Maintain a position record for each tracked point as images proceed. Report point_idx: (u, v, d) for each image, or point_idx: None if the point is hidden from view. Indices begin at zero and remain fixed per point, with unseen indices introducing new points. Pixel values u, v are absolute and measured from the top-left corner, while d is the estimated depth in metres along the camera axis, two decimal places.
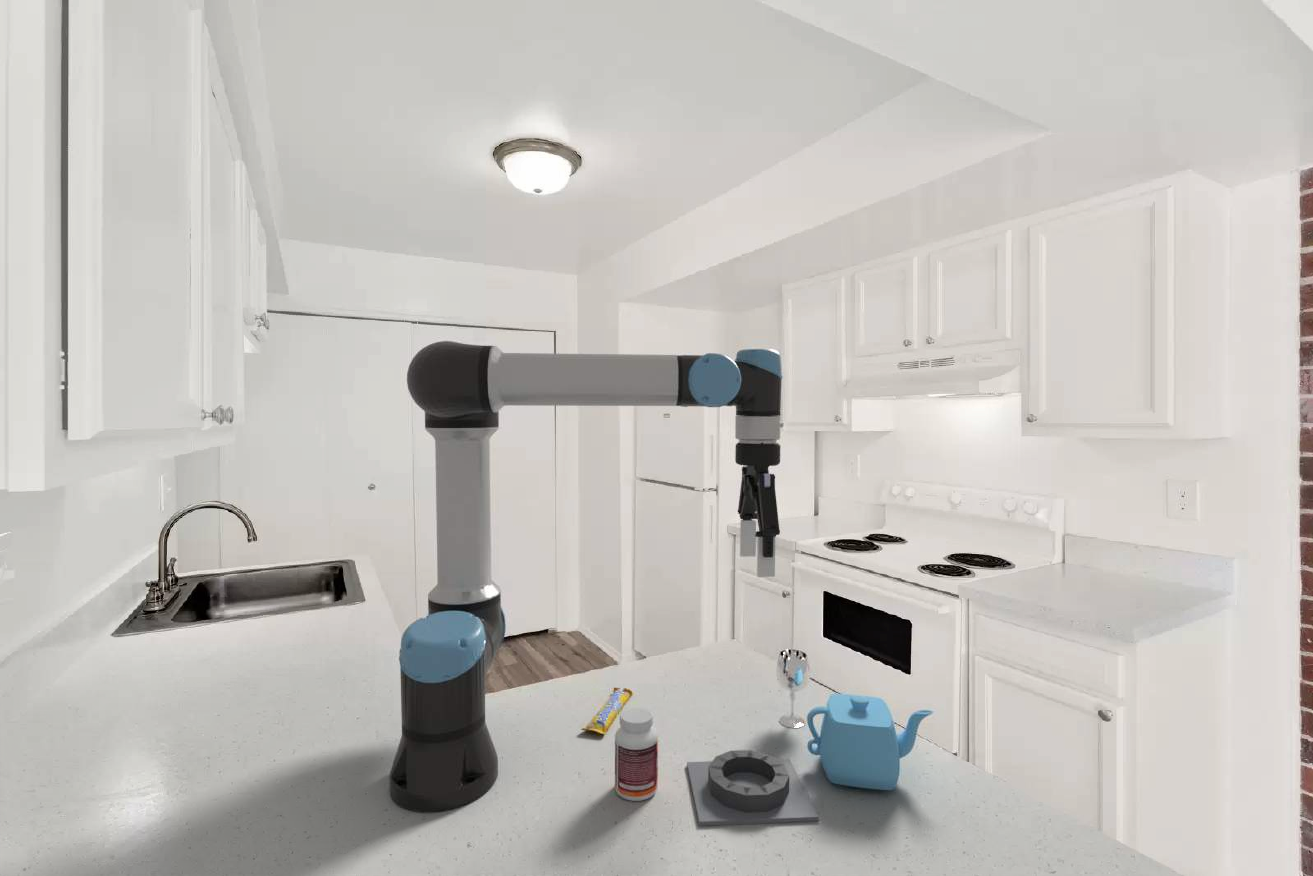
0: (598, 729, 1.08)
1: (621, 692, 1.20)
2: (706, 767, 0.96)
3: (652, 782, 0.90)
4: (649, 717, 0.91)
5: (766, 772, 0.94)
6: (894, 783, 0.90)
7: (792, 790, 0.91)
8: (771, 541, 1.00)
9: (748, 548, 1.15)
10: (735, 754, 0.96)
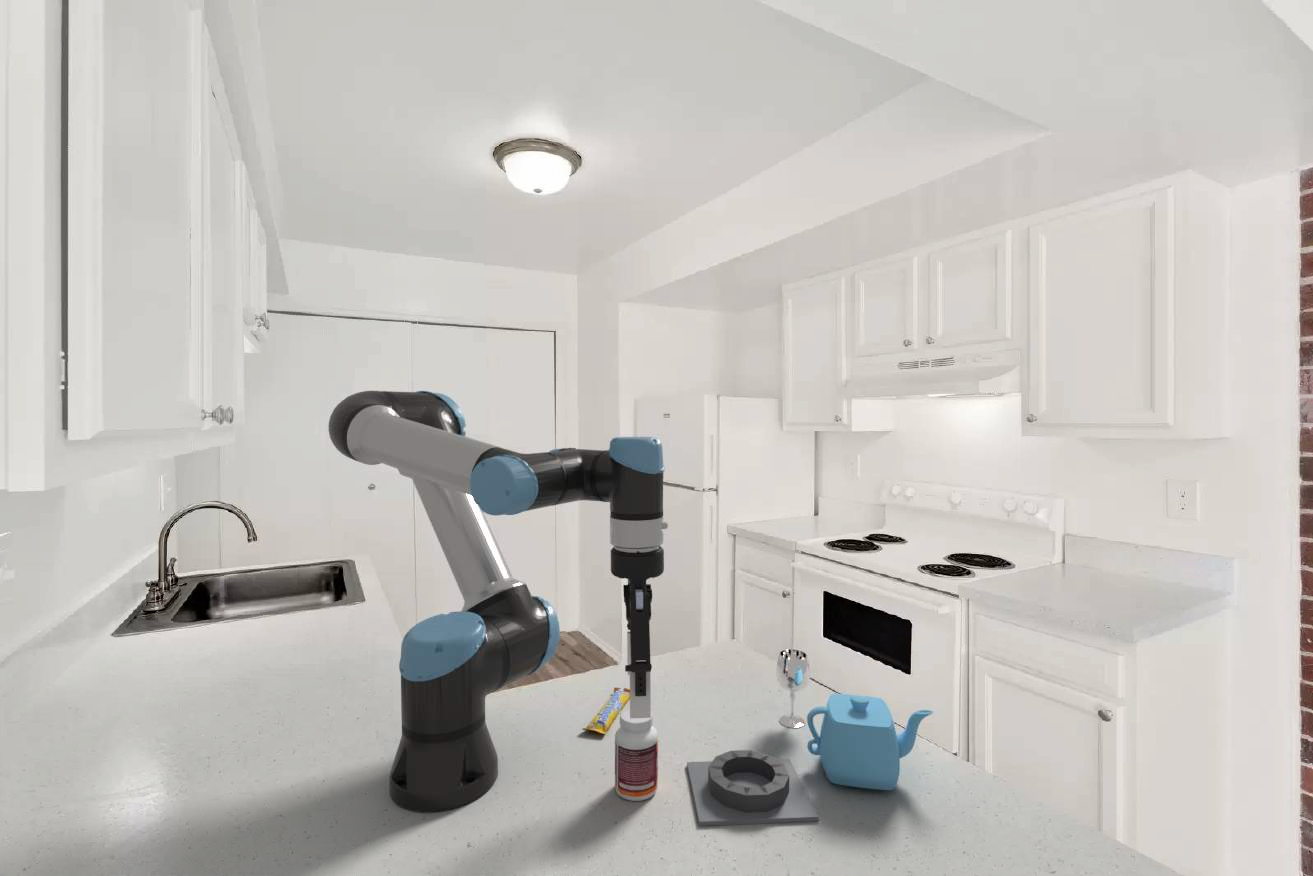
0: (599, 729, 1.08)
1: (621, 692, 1.20)
2: (706, 767, 0.96)
3: (652, 782, 0.90)
4: None
5: (766, 772, 0.94)
6: (894, 783, 0.90)
7: (792, 790, 0.91)
8: (643, 677, 0.82)
9: None
10: (735, 754, 0.96)
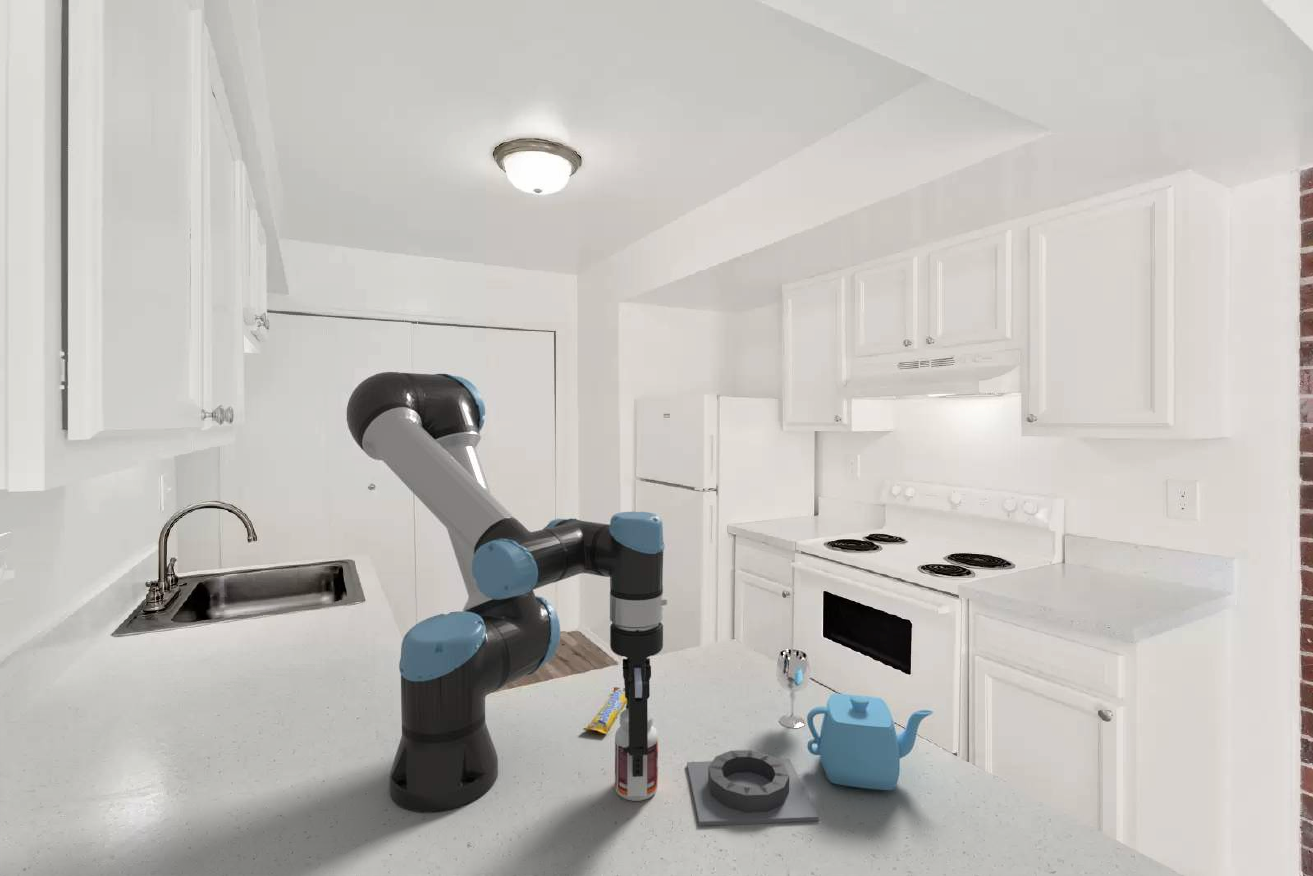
0: (599, 729, 1.08)
1: (621, 692, 1.20)
2: (706, 767, 0.96)
3: (653, 782, 0.90)
4: (649, 717, 0.91)
5: (766, 772, 0.94)
6: (894, 783, 0.90)
7: (792, 790, 0.91)
8: (640, 759, 0.87)
9: None
10: (735, 754, 0.96)
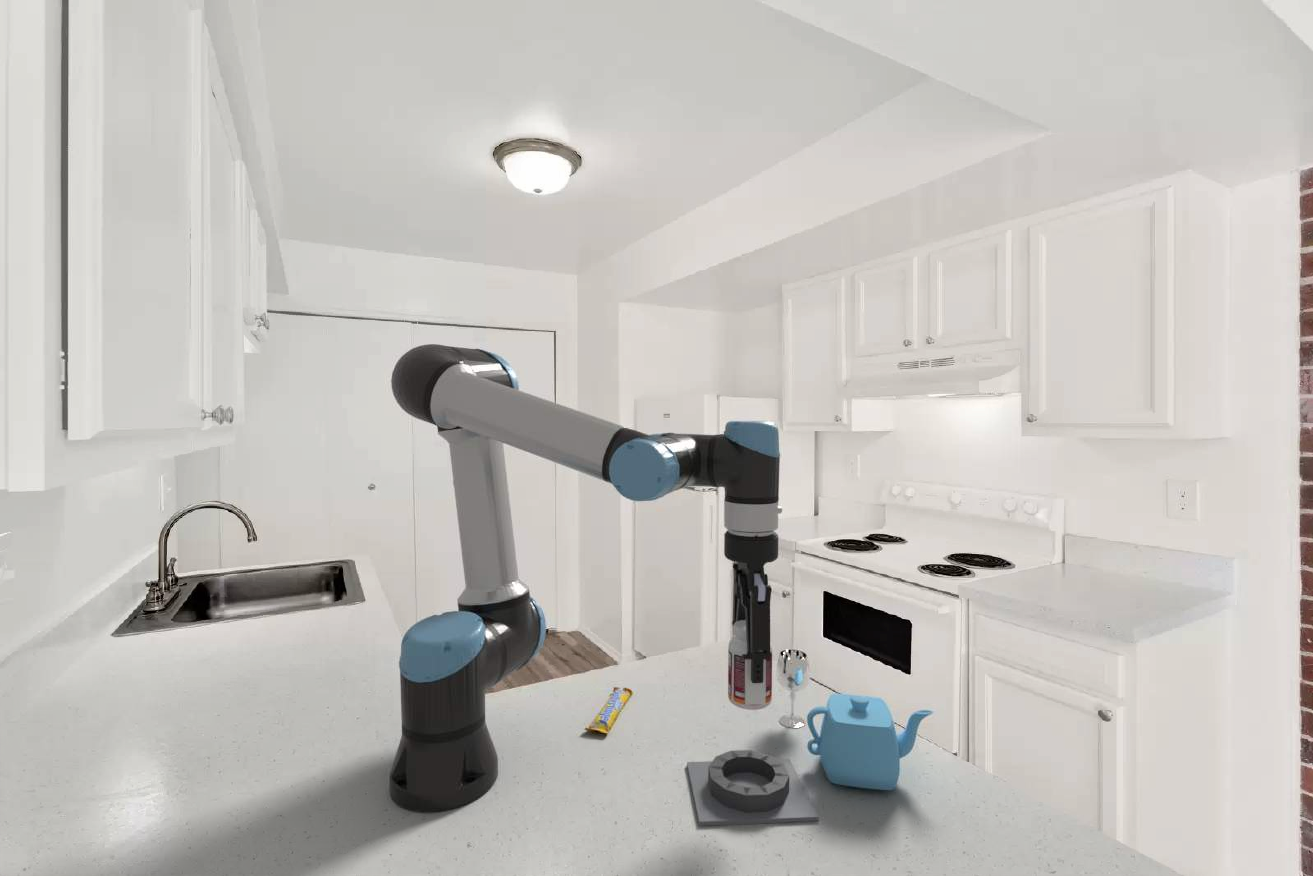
0: (601, 728, 1.08)
1: (621, 691, 1.20)
2: (706, 767, 0.96)
3: (769, 692, 0.89)
4: None
5: (766, 772, 0.94)
6: (894, 783, 0.90)
7: (792, 790, 0.91)
8: (761, 665, 0.85)
9: None
10: (735, 754, 0.96)
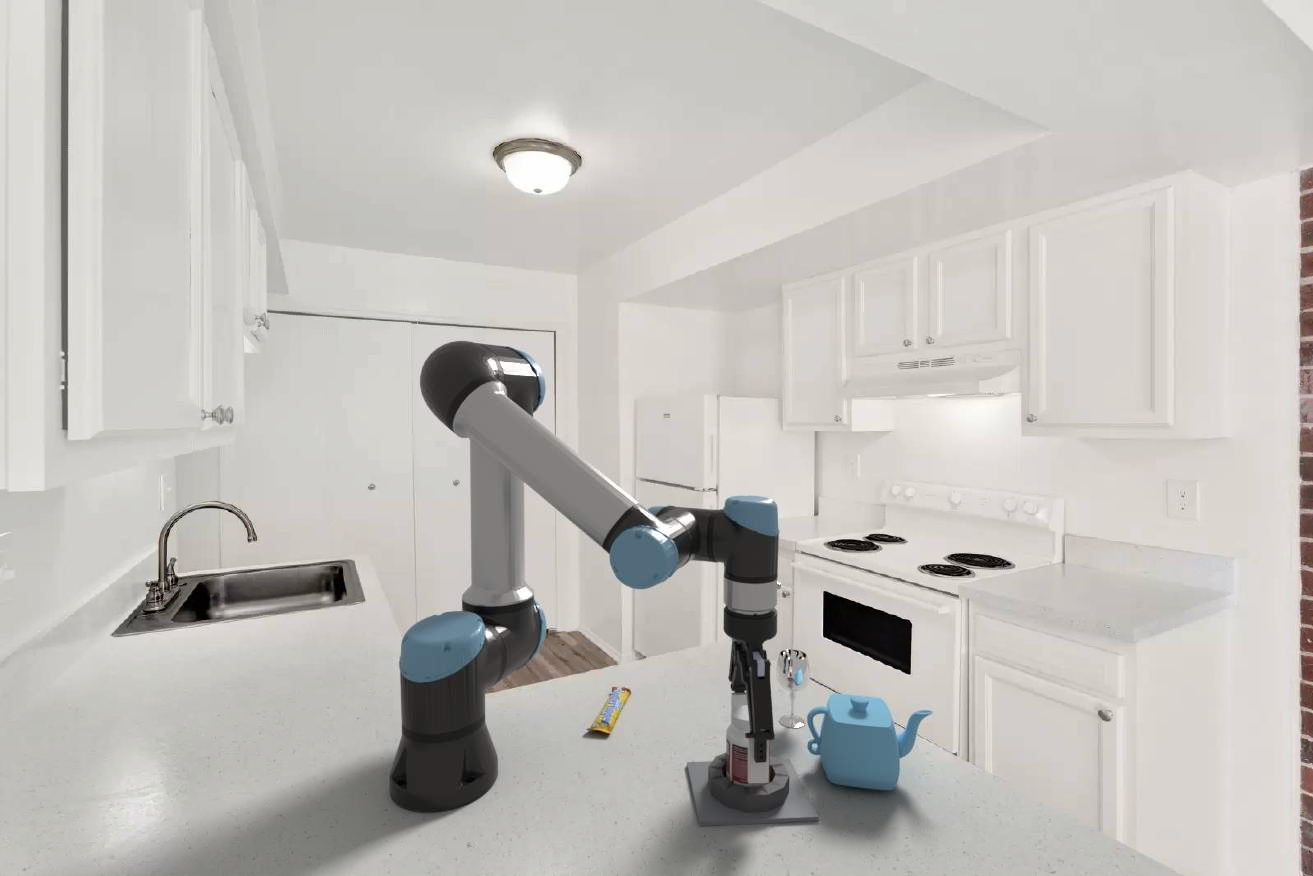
0: (603, 729, 1.08)
1: (620, 691, 1.20)
2: (706, 767, 0.96)
3: None
4: None
5: None
6: (894, 783, 0.90)
7: (792, 790, 0.91)
8: (764, 744, 0.83)
9: None
10: None
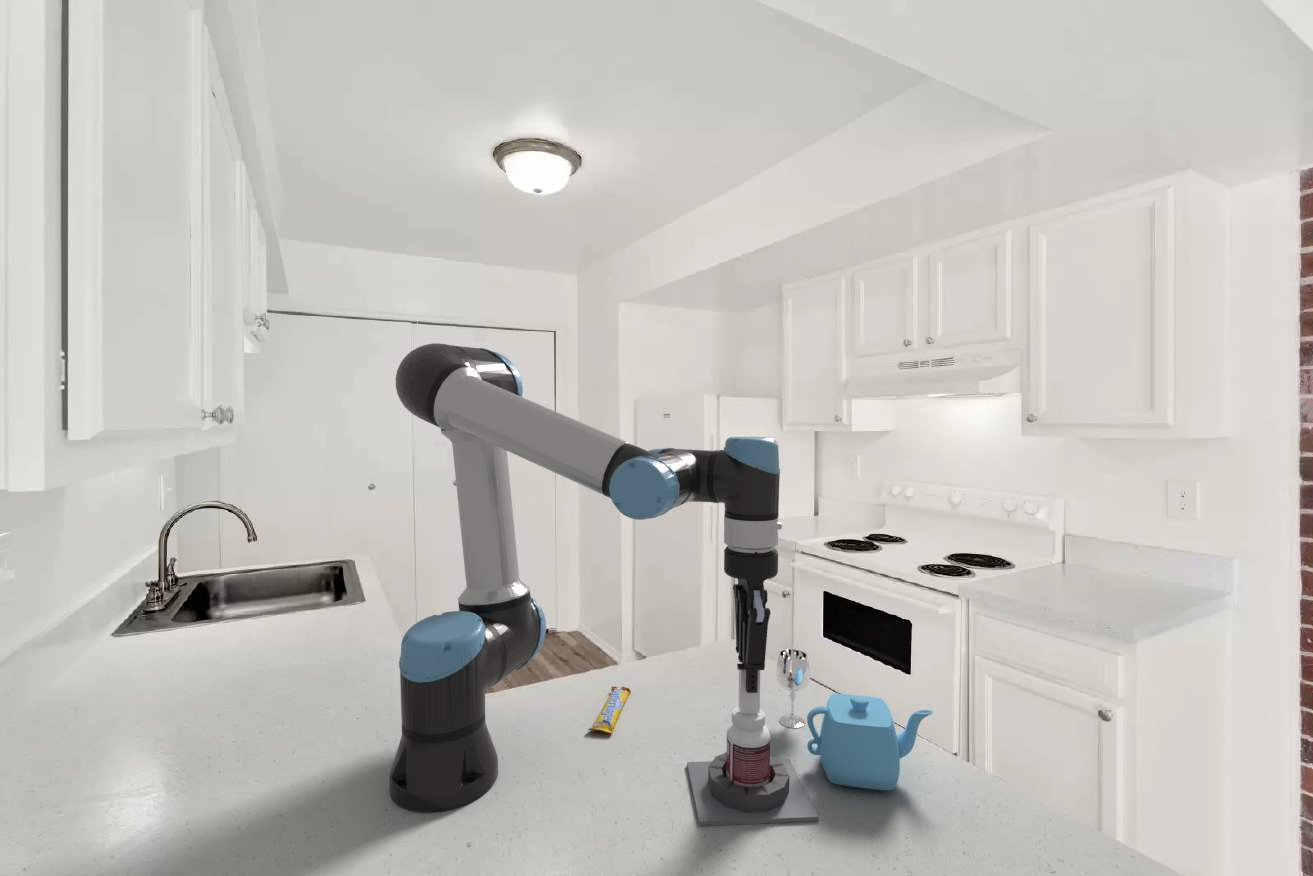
0: (605, 728, 1.08)
1: (620, 691, 1.21)
2: (706, 767, 0.96)
3: (767, 780, 0.89)
4: (763, 715, 0.90)
5: None
6: (894, 783, 0.90)
7: (792, 790, 0.91)
8: (755, 675, 0.89)
9: None
10: None
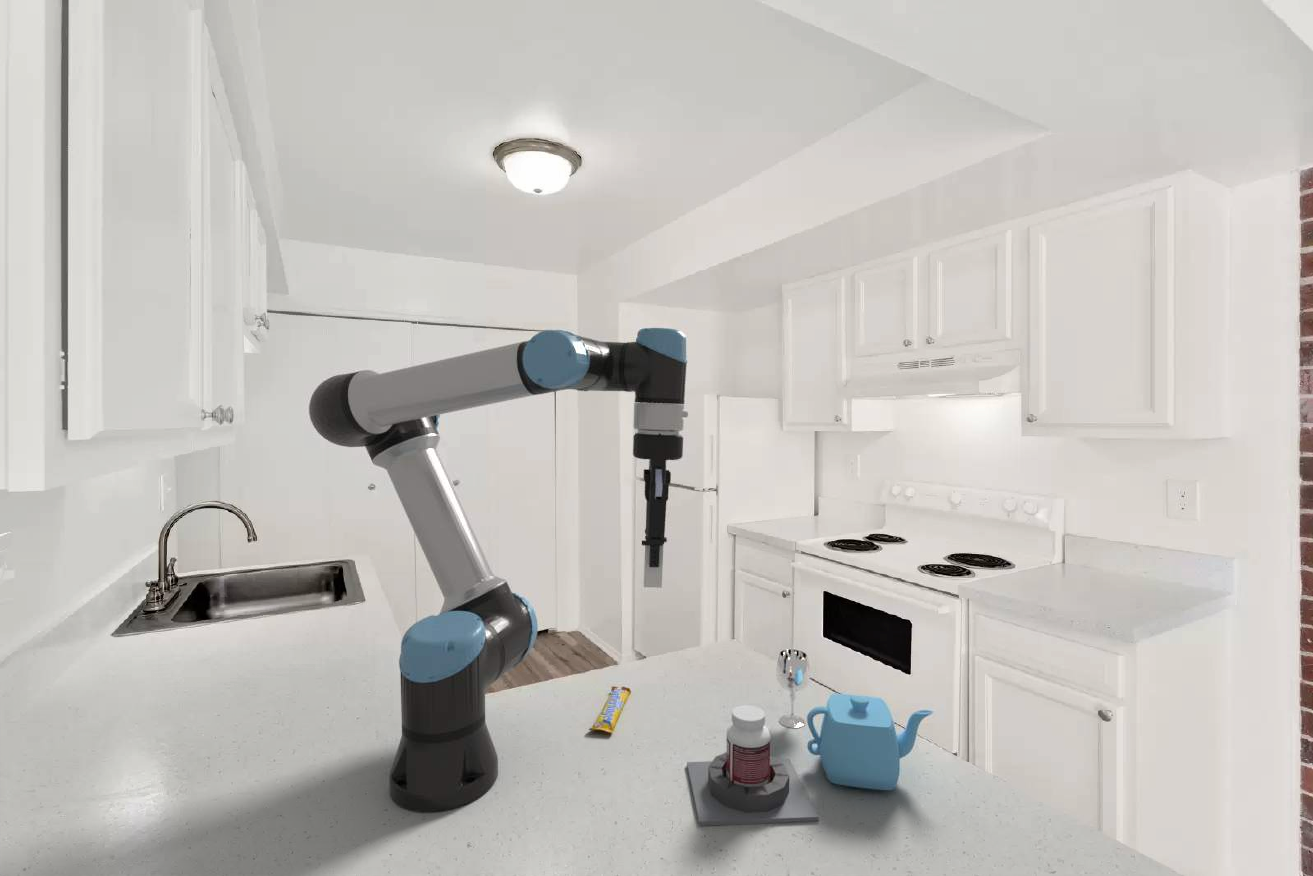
0: (605, 728, 1.08)
1: (620, 690, 1.21)
2: (706, 767, 0.96)
3: (767, 780, 0.89)
4: (762, 715, 0.90)
5: None
6: (894, 783, 0.90)
7: (792, 790, 0.91)
8: (657, 550, 0.95)
9: None
10: None
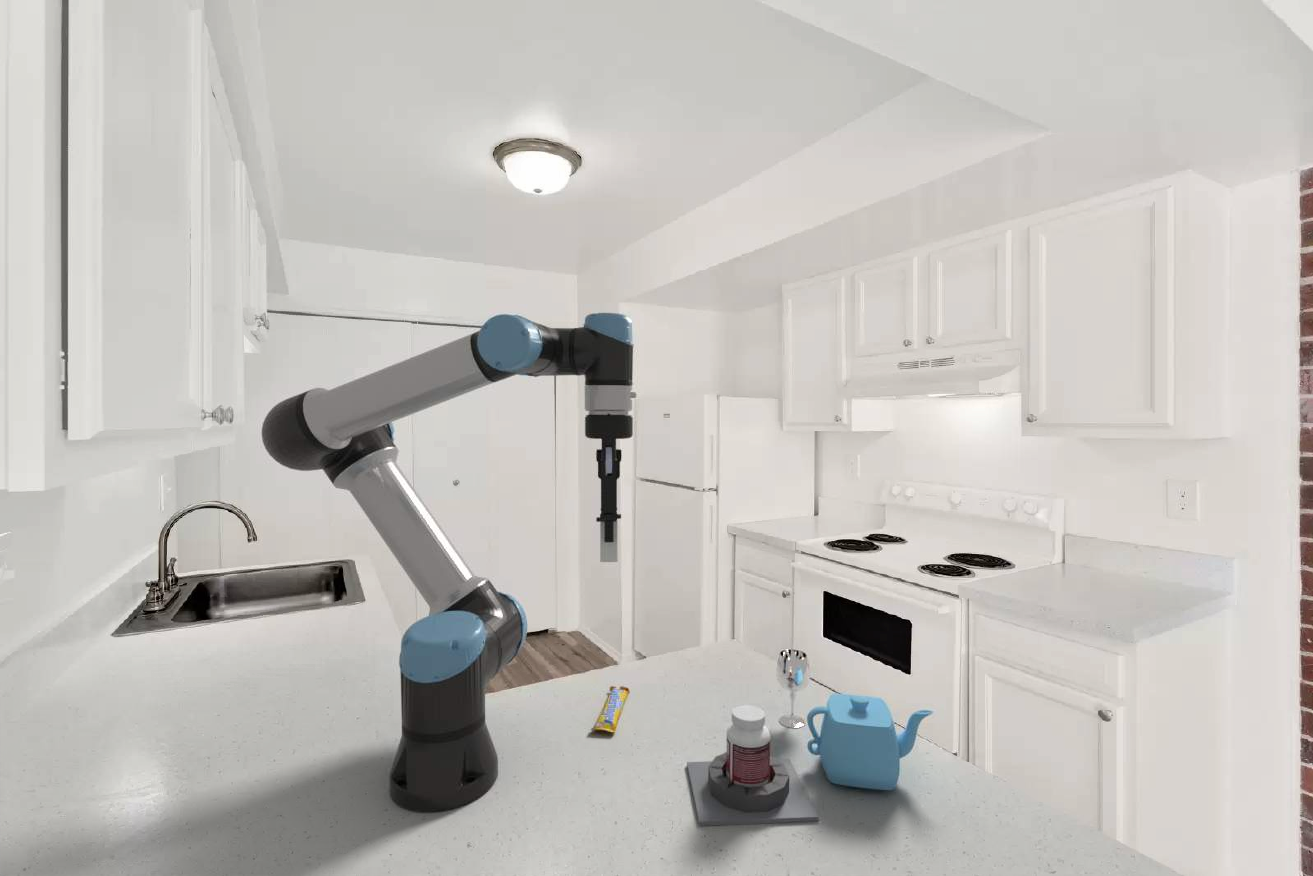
0: (607, 728, 1.08)
1: (619, 690, 1.21)
2: (706, 767, 0.96)
3: (767, 780, 0.89)
4: (762, 715, 0.90)
5: None
6: (894, 783, 0.90)
7: (792, 790, 0.91)
8: (611, 526, 1.00)
9: None
10: None
